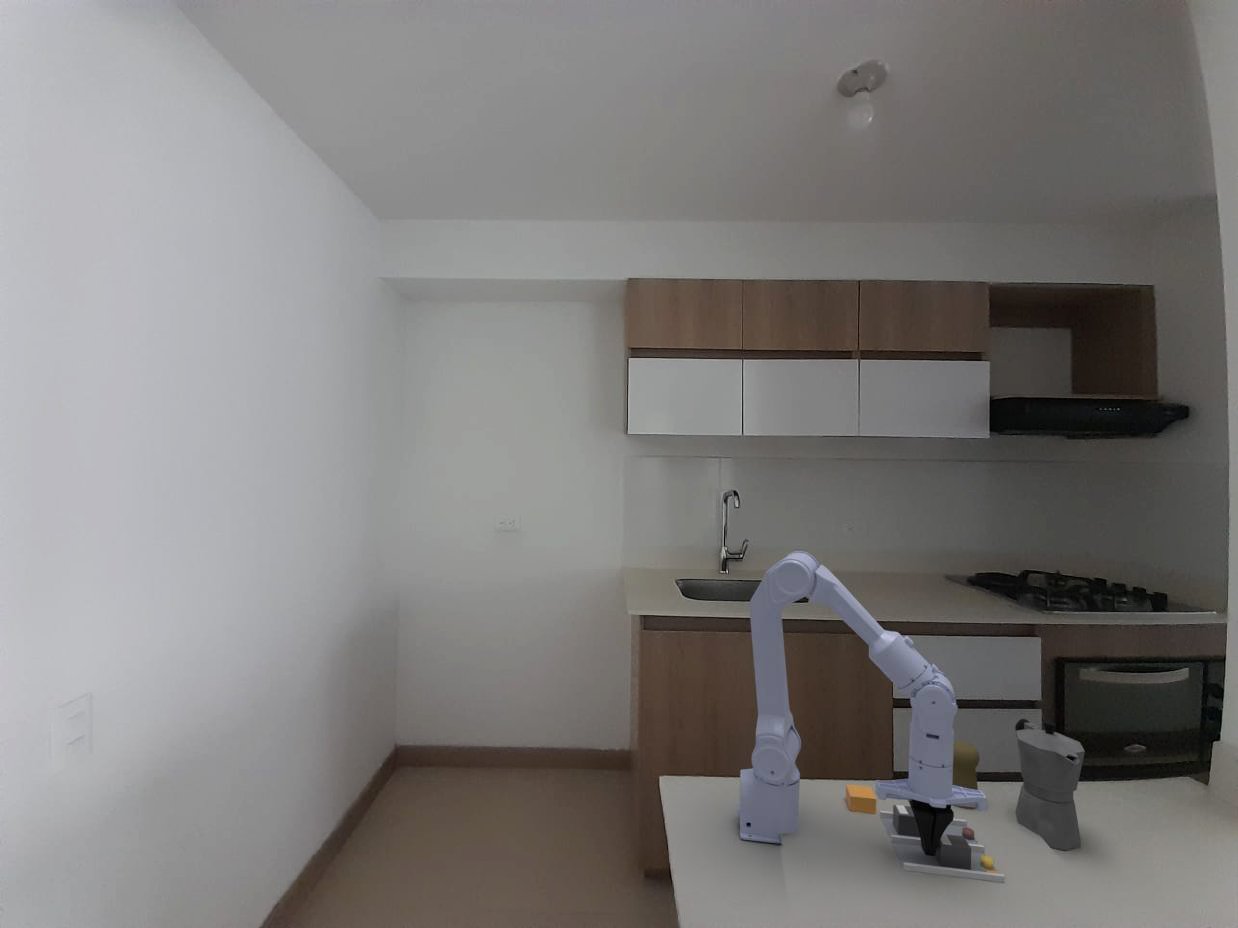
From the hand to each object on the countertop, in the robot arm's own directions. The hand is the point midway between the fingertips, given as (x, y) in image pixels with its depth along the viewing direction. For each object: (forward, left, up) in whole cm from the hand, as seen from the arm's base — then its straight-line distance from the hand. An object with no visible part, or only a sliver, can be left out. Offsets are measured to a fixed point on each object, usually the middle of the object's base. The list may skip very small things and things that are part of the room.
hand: (928, 851), depth 92 cm
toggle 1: (-1, +7, -1) cm, 7 cm away
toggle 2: (+3, 0, -1) cm, 3 cm away
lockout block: (-7, +13, -3) cm, 15 cm away
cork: (+11, +19, -3) cm, 22 cm away
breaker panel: (+2, +4, -2) cm, 5 cm away
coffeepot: (+22, +15, -3) cm, 26 cm away
